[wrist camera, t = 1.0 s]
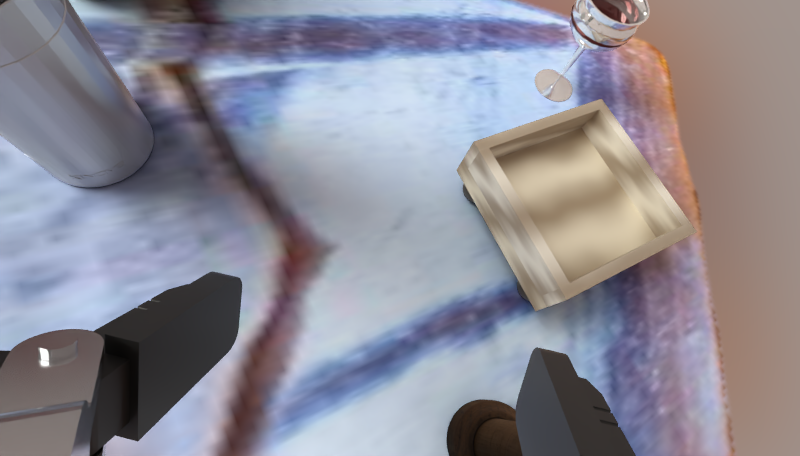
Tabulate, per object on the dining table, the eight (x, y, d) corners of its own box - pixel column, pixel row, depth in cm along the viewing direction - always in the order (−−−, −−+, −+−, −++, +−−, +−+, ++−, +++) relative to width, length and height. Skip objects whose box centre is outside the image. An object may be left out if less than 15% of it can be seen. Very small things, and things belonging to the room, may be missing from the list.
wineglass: (585, 107, 49) (660, 27, 38) (536, 108, 48) (599, 25, 37) (569, 63, 52) (635, -24, 41) (521, 63, 50) (577, -27, 39)
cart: (447, 184, 42) (473, 141, 35) (557, 144, 46) (601, 98, 39) (520, 316, 38) (566, 300, 31) (632, 258, 43) (696, 231, 35)
